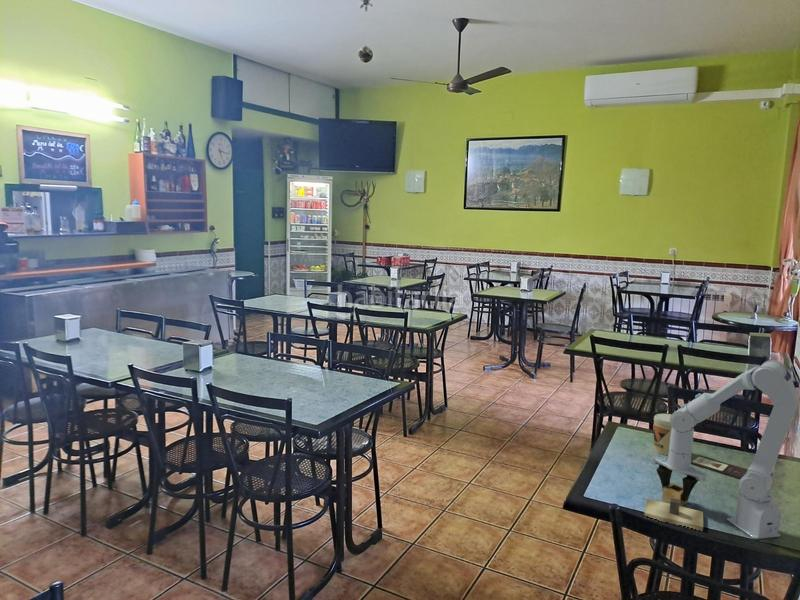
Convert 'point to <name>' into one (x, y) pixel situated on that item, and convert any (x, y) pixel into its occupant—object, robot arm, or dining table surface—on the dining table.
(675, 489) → the collar
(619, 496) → the dining table surface
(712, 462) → the chocolate bar
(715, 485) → the dining table surface
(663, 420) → the coffee cup
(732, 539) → the dining table surface
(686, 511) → the post stand
